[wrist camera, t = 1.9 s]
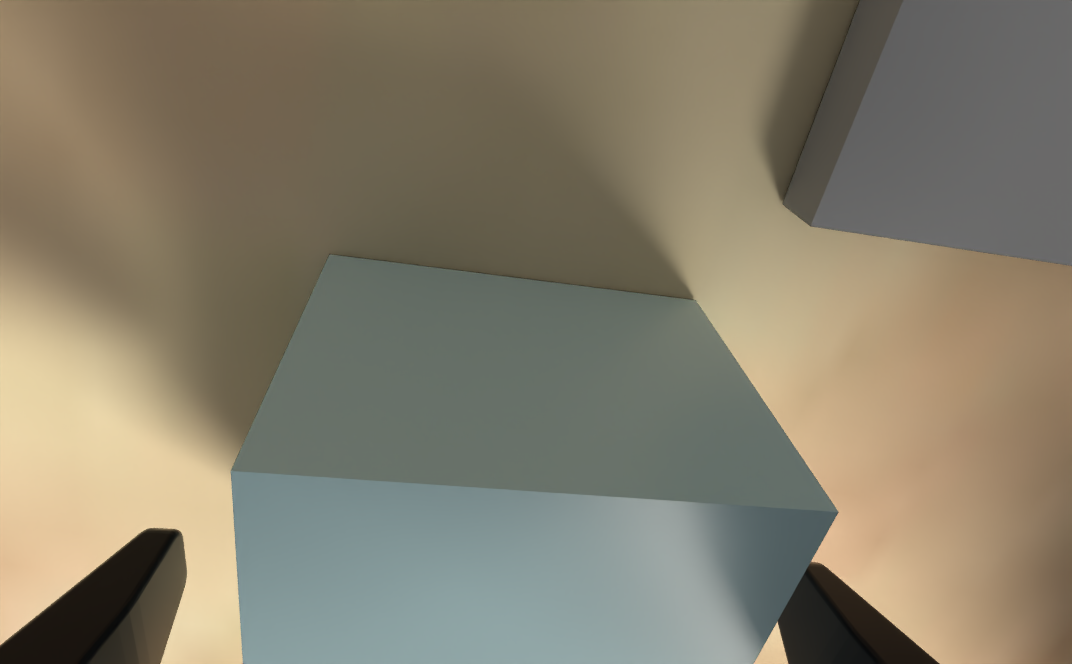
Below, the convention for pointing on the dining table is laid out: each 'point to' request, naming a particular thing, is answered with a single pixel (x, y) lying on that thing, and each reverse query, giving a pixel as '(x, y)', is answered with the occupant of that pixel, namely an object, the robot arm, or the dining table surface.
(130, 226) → the dining table surface
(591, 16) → the dining table surface
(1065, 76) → the post stand
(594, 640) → the pale blue cube
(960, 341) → the dining table surface
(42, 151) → the dining table surface
